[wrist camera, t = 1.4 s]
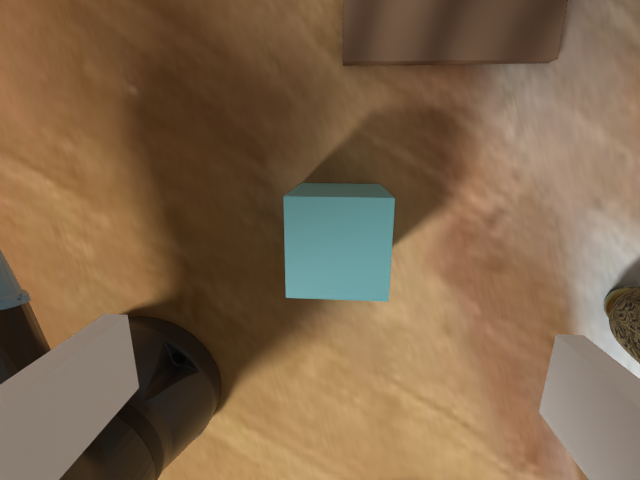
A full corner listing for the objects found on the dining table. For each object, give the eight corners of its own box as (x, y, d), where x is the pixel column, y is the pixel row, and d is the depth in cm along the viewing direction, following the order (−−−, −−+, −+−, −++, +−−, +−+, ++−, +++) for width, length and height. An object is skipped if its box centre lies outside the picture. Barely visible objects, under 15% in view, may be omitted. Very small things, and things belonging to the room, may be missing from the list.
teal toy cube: (301, 257, 31) (285, 298, 23) (301, 182, 30) (283, 196, 21) (376, 259, 31) (388, 301, 22) (379, 183, 29) (395, 198, 20)
